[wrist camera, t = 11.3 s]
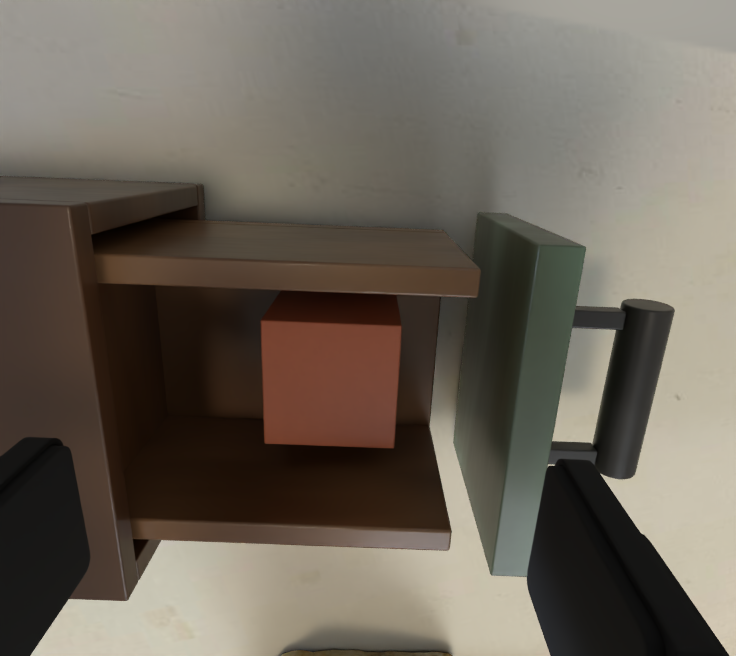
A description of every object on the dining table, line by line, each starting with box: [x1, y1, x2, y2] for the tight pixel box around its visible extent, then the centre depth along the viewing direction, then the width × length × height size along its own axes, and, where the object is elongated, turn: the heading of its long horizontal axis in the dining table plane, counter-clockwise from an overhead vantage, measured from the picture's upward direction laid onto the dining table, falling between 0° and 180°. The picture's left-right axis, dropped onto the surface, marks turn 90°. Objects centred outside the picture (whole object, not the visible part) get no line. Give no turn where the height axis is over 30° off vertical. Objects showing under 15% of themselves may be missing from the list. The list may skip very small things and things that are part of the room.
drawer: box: [91, 212, 675, 577], centre depth 18 cm, size 19×10×8 cm, turn 88°
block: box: [260, 290, 402, 448], centre depth 18 cm, size 4×4×4 cm
